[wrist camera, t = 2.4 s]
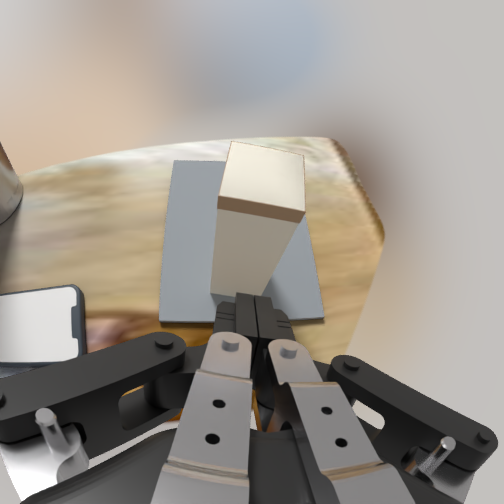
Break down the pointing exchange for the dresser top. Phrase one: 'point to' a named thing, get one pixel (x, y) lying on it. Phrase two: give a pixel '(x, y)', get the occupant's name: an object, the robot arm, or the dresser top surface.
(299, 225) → the rubber mat
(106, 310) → the dresser top surface
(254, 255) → the cream block
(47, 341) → the dark grey smartphone
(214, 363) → the robot arm
